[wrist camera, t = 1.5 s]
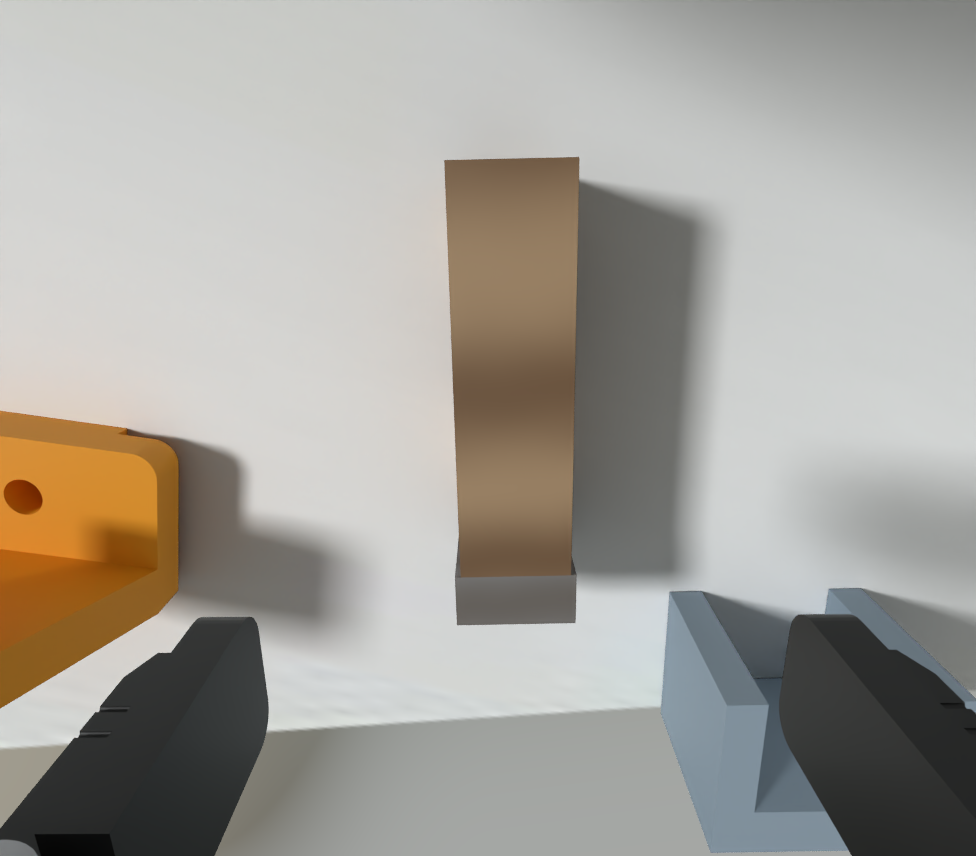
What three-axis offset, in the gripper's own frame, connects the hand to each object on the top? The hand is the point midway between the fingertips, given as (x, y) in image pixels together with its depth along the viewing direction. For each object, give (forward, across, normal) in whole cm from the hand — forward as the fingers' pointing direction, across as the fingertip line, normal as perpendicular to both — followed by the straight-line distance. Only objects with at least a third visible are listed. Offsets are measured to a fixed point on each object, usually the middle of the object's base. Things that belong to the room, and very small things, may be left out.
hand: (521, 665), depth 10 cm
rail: (+18, 0, 0) cm, 18 cm away
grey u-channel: (+18, -12, +14) cm, 26 cm away
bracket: (+18, +20, +5) cm, 27 cm away
